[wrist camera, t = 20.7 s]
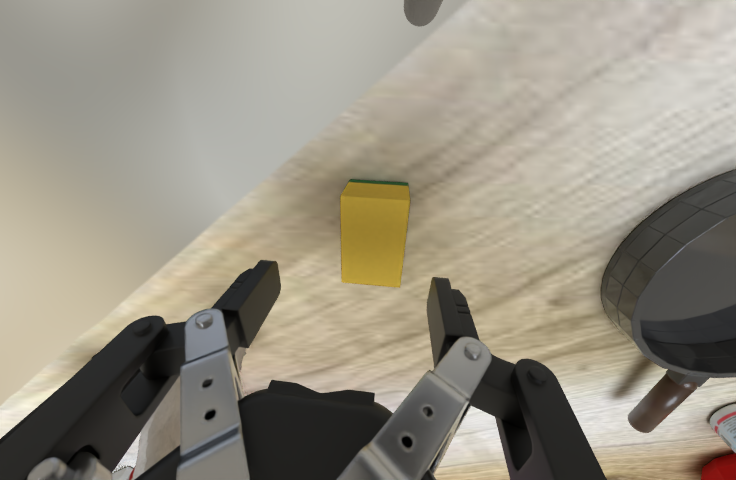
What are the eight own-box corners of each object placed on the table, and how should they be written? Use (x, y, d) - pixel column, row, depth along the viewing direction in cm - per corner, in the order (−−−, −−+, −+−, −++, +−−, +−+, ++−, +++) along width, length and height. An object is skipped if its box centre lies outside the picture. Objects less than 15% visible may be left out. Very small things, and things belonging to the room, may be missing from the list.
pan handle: (672, 357, 23) (692, 376, 22) (694, 359, 23) (716, 378, 21) (619, 416, 28) (633, 435, 26) (637, 418, 27) (652, 437, 26)
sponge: (349, 178, 20) (340, 195, 17) (408, 182, 20) (410, 200, 16) (349, 255, 24) (341, 282, 20) (399, 259, 23) (399, 288, 20)
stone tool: (215, 292, 28) (49, 468, 14) (242, 290, 27) (96, 471, 14) (247, 351, 32) (141, 529, 19) (271, 350, 31) (180, 534, 18)
